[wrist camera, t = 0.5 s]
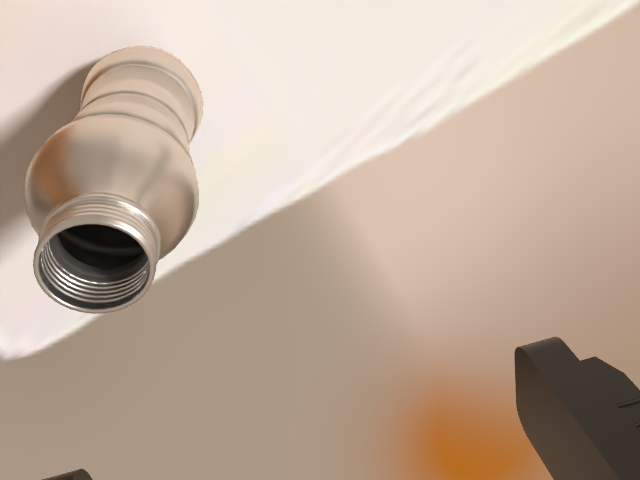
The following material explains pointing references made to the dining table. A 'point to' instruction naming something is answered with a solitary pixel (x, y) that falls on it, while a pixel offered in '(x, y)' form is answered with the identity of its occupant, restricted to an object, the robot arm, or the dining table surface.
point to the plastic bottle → (116, 182)
